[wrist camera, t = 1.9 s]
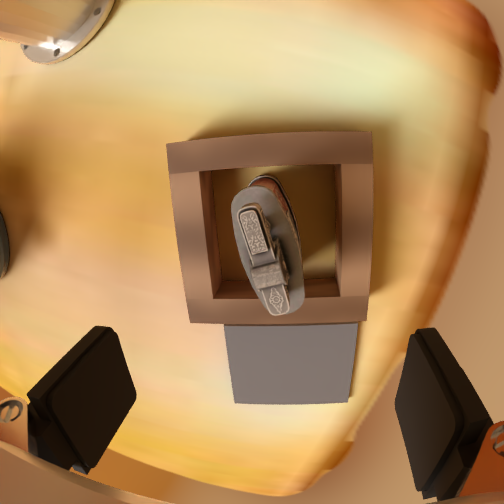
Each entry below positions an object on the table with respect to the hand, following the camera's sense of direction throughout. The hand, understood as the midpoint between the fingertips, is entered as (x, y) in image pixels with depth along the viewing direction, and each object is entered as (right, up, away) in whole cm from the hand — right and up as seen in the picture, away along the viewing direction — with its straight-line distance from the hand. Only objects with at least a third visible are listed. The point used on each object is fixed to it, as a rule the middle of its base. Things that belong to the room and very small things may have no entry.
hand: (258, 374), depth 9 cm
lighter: (+2, +6, +16) cm, 18 cm away
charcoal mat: (+4, -7, +20) cm, 22 cm away
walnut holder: (+2, +6, +16) cm, 17 cm away
